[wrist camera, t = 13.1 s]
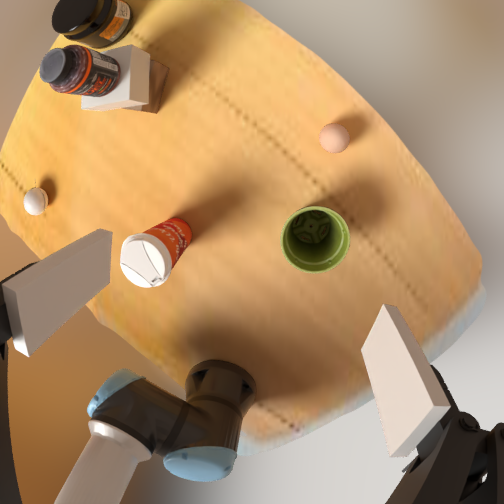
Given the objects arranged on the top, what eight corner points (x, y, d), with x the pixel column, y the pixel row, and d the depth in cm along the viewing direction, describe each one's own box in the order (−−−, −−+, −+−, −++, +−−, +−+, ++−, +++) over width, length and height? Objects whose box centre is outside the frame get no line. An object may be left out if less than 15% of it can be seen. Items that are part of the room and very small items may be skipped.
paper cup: (207, 237, 51) (180, 270, 38) (176, 263, 53) (143, 300, 40) (176, 201, 50) (139, 223, 37) (147, 230, 52) (106, 258, 39)
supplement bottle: (99, 106, 34) (43, 103, 23) (80, 78, 33) (26, 70, 22) (130, 76, 32) (79, 61, 22) (110, 48, 31) (59, 29, 20)
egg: (350, 145, 44) (358, 145, 38) (325, 157, 45) (330, 159, 39) (337, 119, 42) (344, 116, 37) (312, 131, 44) (315, 129, 38)
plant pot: (293, 186, 47) (295, 195, 39) (348, 208, 47) (361, 221, 39) (273, 240, 50) (270, 260, 42) (326, 260, 50) (333, 282, 42)
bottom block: (157, 113, 45) (140, 110, 39) (117, 107, 45) (98, 105, 40) (169, 68, 42) (154, 60, 37) (128, 64, 42) (111, 57, 37)
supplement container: (146, 12, 38) (113, -13, 27) (110, 58, 42) (71, 44, 31) (111, -4, 37) (76, -26, 26) (78, 39, 41) (39, 26, 29)
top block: (148, 104, 39) (129, 99, 33) (103, 111, 40) (81, 109, 34) (150, 54, 36) (131, 44, 31) (105, 64, 37) (84, 57, 31)
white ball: (52, 214, 53) (35, 221, 48) (35, 207, 53) (18, 214, 48) (56, 179, 51) (38, 183, 45) (38, 173, 51) (20, 177, 45)
